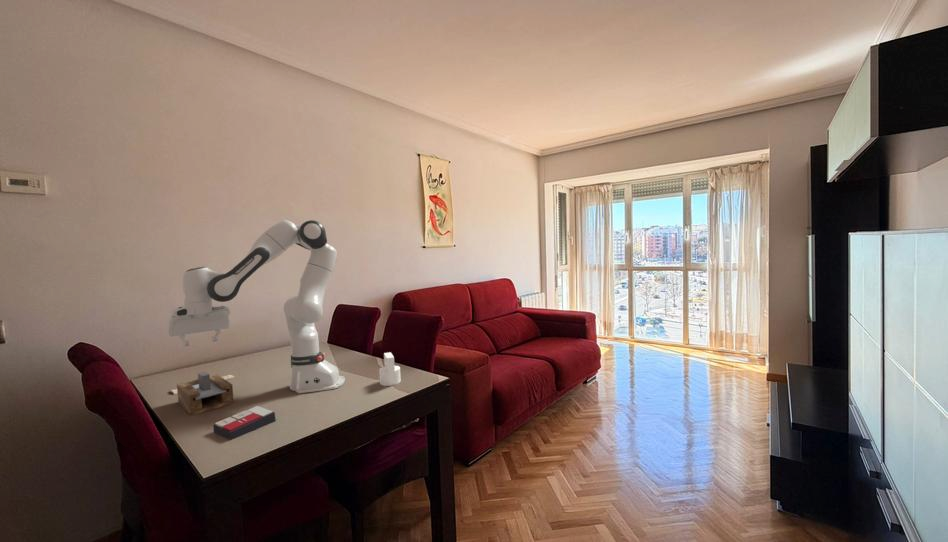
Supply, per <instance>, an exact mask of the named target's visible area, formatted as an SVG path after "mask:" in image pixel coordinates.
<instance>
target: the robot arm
mask: <svg viewBox="0 0 948 542" xmlns="http://www.w3.org/2000/svg"><path fill="white" fill-rule="evenodd" d="M327 238H328V237H327V234H326V228H325V227H324V225H323V224H322V223H321V222H319V221H317V220H312V219H311V220H306V221H305V222H303V223H302V224H301V225H300V226H299V225H296V224H295V223H294V222H292V221H290V220H288V219H283V220H281V221H279V222H277V223H276V224H274V225H272V226H271V227H269V228H268V229H266V230H265V231H264V232H263V233H262V234H261V235H260V236H259V237H258V238H257V239H256V240H255V241H254V243H253V244H252V245H251V248H250V250H249V252H248V253H247V255H246V256H245V257H244V258H243V259H242V260H241V261H239V262H238V263H237V264H236V265H235V266H234V267H233V268H231V270H229V271H228V272H225V273H222V272H219V271H215V270H213V269H210V268H209V267H207V266H201V267H200V266H199V267H195V268H190V269H187V270H186V271H185V272H184V273H183V276H182V290H183V295H184V300H183V305H181V306H178V307H175V308H172V309H170V310H169V314H170V317H169V318H168V319H167V325H166V332H167V336H169V337H176V336H177V337H178V336H179V337H178V338H179V339H180V340H181V341H182V342H183V347H188V346H189V347H190V341H189V340H186V339H185V337H186V335H191V334H192V335H193V334H198V333H205V332H212V331H215V334H214V336H212V340H211V341H212V342H218V341H219V340H218V337H219V336H220V333H221V330H224V329H229V328H230V327H231V320H230V317H229V316H230V308H229V307H228V306H225V305H221V306H213V301H212V300H214V301H216V302H220V303H225V302H229V301H232V300H233V299H235V298H236V296H237V295H238V293H239V291H240V289H241V286H242V285H243V283H245V281H246V280H247V279H249V277H251V276H252V275H253V274H254V273H255V272H257V270H258V269H259V268H261V267H263V266H264V265H266V264H268V263H271V262H272V261H274V260H276V258H279V256H281V255H282V254H283V253H285V252H286V251H287V250H288V249H289V248H290V247H291V246H293V245H295V244H296V245H297V246H299V247H302V248H303V249H306V250H310V256H309V258H308V261H307V264H306V266H305V268H304V271H303V272H302V276H301V277H300V280H299V284H300V285H299V290H298V295H295V296H292V297H290V298H288V299H286V301H285V302H284V305H283V312H284V314H285V321H286V324H287V329H288V333H289V338H290V347H291V348H290V349H291V351H290V352H291V355H290V368H291V380H290V381H291V382H290V385H289V390H291V391H293V392H295V393H297V394H304V393H305V394H306V393H311V392H313V393H314V392H321V391H328V390H335V389H337V388H340V387H341V386H343V384H344V383H345V381H346V378H345V376H343V375H340V372H339V369H338V367H337V366H336V365H334V364H333V363H331V362H329V361H328V360H326V359H325V353H326V352H321V351H320V343H319V333H318V331H317V328H316V326H315V323H316V322H318V321H320V320H321V318H322V317H323V315H324V308H323V305H324V300H325V293H326V290H327V287H328V284H329V281H330V279H331V276H332V274H333V271H334V268H335V266H336V261H337V256H338V252H337V249H336V248H335V247H333V246H332V245H330V244H328V239H327Z"/></svg>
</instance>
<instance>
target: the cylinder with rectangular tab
mask: <svg viewBox="0 0 948 542" xmlns="http://www.w3.org/2000/svg"><path fill="white" fill-rule="evenodd" d="M383 360H384V361H383V362H384V363H383V364H384V366H382V367H380V368H379V369H378V372H379V384H380V385H381V386H384V387H387V386H388V387H391V386H396V385H398V384H400V383H401V381H402V379H401V367H400V366H399V365H395V357H394V355H393V353H392V351H391V352H390V351H389V352H384V353H383Z"/></svg>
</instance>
